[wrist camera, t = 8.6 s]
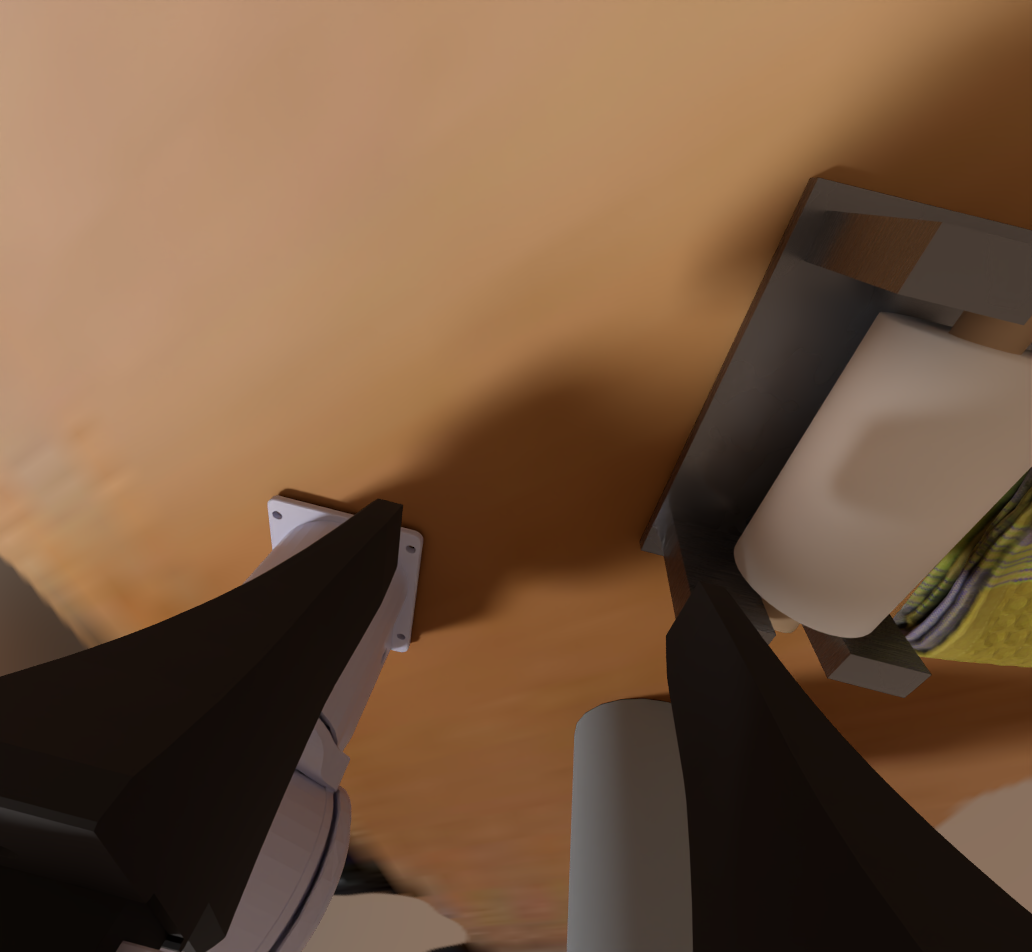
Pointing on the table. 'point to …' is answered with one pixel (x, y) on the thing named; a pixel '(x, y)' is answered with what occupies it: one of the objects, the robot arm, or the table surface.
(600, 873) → the spray bottle
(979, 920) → the robot arm
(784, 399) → the roll holder
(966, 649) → the dish towel
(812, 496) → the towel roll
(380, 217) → the table surface
